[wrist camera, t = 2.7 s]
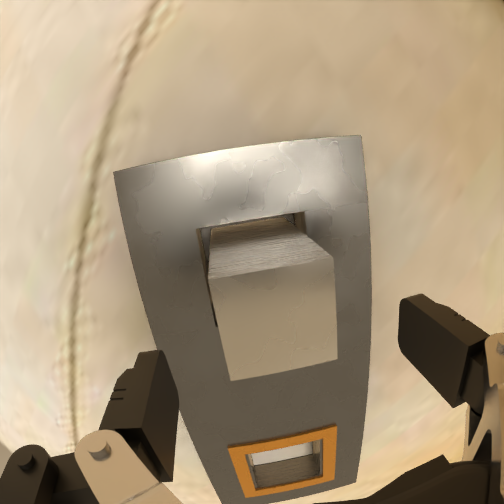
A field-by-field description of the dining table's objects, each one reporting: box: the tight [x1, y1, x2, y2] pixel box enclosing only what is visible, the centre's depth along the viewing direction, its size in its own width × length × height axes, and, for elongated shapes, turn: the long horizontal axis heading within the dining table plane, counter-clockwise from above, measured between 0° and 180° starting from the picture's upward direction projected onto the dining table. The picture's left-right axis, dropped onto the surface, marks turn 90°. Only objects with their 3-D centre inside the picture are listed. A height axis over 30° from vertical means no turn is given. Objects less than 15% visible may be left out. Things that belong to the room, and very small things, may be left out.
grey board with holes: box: [113, 135, 372, 504], centre depth 19 cm, size 28×12×3 cm, turn 9°
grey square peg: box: [208, 217, 337, 381], centre depth 14 cm, size 4×4×8 cm
